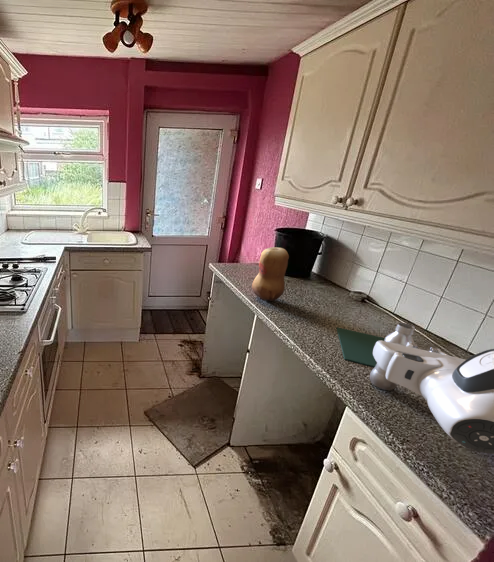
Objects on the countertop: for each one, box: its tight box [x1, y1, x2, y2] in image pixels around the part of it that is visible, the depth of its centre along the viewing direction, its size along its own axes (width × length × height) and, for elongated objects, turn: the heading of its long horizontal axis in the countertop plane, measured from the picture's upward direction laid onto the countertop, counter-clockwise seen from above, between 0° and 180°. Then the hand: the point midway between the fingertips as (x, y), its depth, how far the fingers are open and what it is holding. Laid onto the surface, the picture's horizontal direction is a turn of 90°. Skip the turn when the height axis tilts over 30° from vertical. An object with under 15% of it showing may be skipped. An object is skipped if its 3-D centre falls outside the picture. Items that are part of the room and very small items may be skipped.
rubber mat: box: [336, 326, 385, 368], centre depth 109 cm, size 24×16×1 cm, turn 152°
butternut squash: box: [251, 246, 290, 302], centre depth 142 cm, size 14×13×25 cm
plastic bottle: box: [369, 322, 416, 391], centre depth 87 cm, size 6×7×20 cm
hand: (421, 347), depth 74 cm, fingers open, 3 cm apart
